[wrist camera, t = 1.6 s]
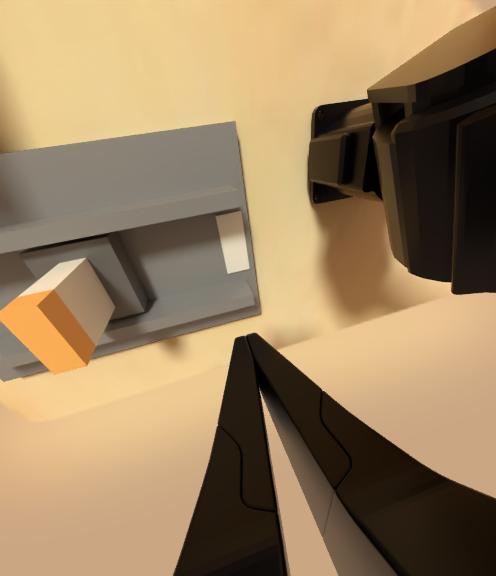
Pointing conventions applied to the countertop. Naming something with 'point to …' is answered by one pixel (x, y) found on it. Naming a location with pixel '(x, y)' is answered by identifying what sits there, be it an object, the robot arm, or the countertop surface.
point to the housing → (135, 228)
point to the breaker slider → (73, 298)
